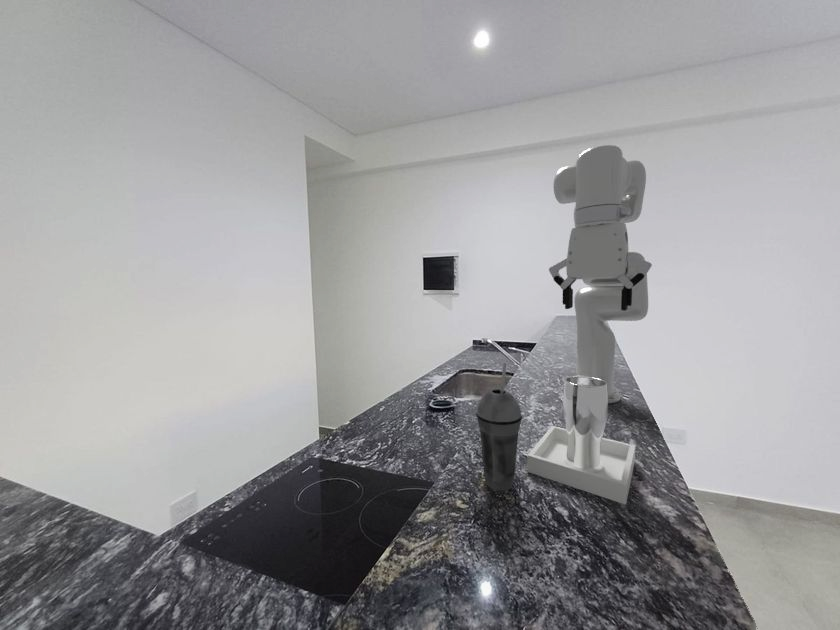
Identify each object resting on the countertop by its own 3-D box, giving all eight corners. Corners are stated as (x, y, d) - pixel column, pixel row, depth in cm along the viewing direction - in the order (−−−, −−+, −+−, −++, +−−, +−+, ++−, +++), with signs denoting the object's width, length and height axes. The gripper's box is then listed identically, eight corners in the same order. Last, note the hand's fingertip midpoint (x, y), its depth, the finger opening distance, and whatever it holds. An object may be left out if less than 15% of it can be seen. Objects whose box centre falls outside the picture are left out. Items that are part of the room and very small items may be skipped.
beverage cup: (468, 475, 55) (467, 361, 54) (504, 466, 58) (504, 357, 56) (492, 501, 49) (491, 371, 47) (531, 489, 51) (532, 366, 50)
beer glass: (595, 453, 60) (597, 375, 59) (613, 475, 54) (616, 387, 52) (556, 452, 61) (557, 375, 60) (570, 473, 54) (572, 386, 53)
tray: (551, 439, 68) (551, 425, 67) (634, 461, 59) (635, 445, 58) (527, 471, 56) (527, 455, 56) (625, 504, 47) (626, 485, 47)
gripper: (655, 214, 58) (650, 308, 60) (555, 226, 69) (554, 306, 71) (652, 208, 52) (648, 312, 54) (544, 223, 63) (543, 309, 65)
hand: (595, 309), depth 63 cm, fingers open, 9 cm apart
